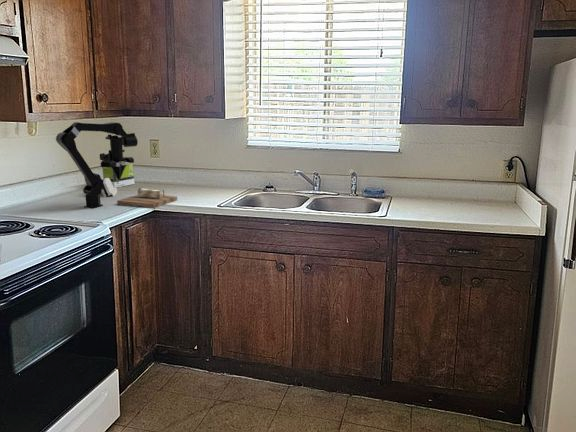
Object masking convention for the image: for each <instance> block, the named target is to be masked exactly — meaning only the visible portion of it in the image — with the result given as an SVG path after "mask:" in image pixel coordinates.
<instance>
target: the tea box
mask: <svg viewBox="0 0 576 432" xmlns="http://www.w3.org/2000/svg"><path fill="white" fill-rule="evenodd" d="M125 165H127V166H126V167H125V169H124V171H123V174H122V176H121V179H117V176H116V174H115V172H114V170H113V169H112V168H111V167H101V168H102V179H104V178H109V179H110V181H111V183H112V185H113V187H114V188H117V189H118V188H121V187H125V186H131V185H135V173H134V163H129V162H125Z"/></svg>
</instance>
